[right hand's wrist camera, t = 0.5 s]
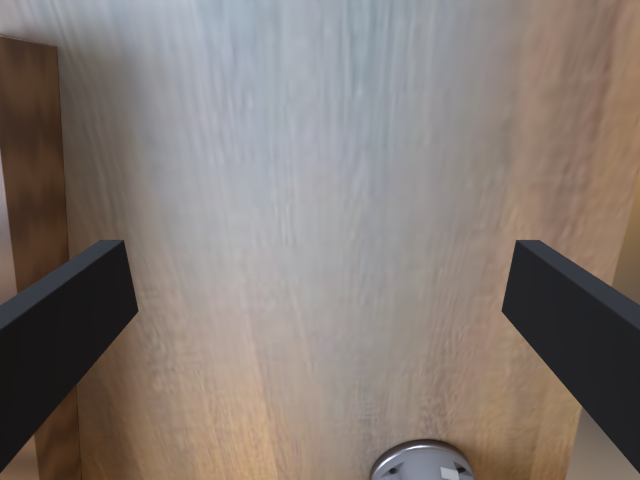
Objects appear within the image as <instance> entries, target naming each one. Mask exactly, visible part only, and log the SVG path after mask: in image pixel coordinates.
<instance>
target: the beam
mask: <svg viewBox="0 0 640 480" xmlns="http://www.w3.org/2000/svg"><path fill="white" fill-rule="evenodd" d="M68 261H69V254H68V236H67V219H66V201H65V184H64V167H63V149H62V132H61V114H60V97H59V79H58V62H57V47H56V46H51V45H46V44H41V43H37V42H32V41H27V40H22V39H18V38H13V37H8V36H4V35H0V305H2V304H3V303H5V302H6V301H8V300H9V299H11V298H12V297H14V296H15V295H17V294H19V293H20V292H22V291H23V290H25V289H26V288H28V287H29V286H31V285H32V284H34V283H35V282H37V281H39V280H40V279H42V278H43V277H45V276H46V275H48V274H49V273H51V272H52V271H54V270H56V269H57V268H59V267H60V266H62V265H63V264H65V263H66V262H68ZM0 480H81V463H80V445H79V428H78V411H77V393H76V385H75V386H74V388H73V389H72V390H71V391H70V392H69V393H68V395H67V396H66V397H65V398H64V399H63V401H62V402H61V403H60V404H59V405H58V406H57V408H56V409H55V410H54V411H53V412H52V413H51V415H50V416H49V417H48V418H47V419H46V421H45V422H44V423H43V424H42V425H41V426H40V428H39V429H38V430H37V431H36V432H35V433H34V435H33V436H32V437H31V438H30V439H29V440H28V442H27V443H26V444H25V445H24V446H23V448H22V449H21V450H20V451H19V452H18V453H17V455H16V456H15V457H14V458H13V459H12V460H11V462H10V463H9V464H8V465H7V466H6V468H5V469H4V470H3V471H2V472H1V473H0Z"/></svg>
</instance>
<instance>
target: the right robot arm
mask: <svg viewBox="0 0 640 480" xmlns="http://www.w3.org/2000/svg"><path fill="white" fill-rule="evenodd" d="M137 312H138V306H137V301H136V297H135V292H134V287H133V282H132V277H131V273H130V268H129V263H128V258H127V253H126V249H125V244H124V240H100V241H99V242H97V243H96V244H94V245H93V246H91V247H89V248H88V249H86V250H85V251H83V252H82V253H80V254H79V255H77V256H76V257H74V258H72V259H71V260H69V261H68V262H66V263H65V264H63V265H62V266H60V267H59V268H57V269H56V270H54V271H52V272H51V273H49V274H48V275H46V276H45V277H43V278H42V279H40V280H39V281H37V282H35V283H34V284H32V285H31V286H29V287H28V288H26V289H25V290H23V291H22V292H20V293H19V294H17V295H15V296H14V297H12V298H11V299H9V300H8V301H6V302H5V303H3V304H2V305H0V473H1V472H2V471H3V470H4V469H5V468H6V466H7V465H8V464H9V463H10V462H11V460H12V459H13V458H14V457H15V456H16V455H17V453H18V452H19V451H20V450H21V449H22V448H23V446H24V445H25V444H26V443H27V442H28V440H29V439H30V438H31V437H32V436H33V435H34V433H35V432H36V431H37V430H38V429H39V428H40V426H41V425H42V424H43V423H44V422H45V421H46V419H47V418H48V417H49V416H50V415H51V413H52V412H53V411H54V410H55V409H56V408H57V406H58V405H59V404H60V403H61V402H62V401H63V399H64V398H65V397H66V396H67V395H68V393H69V392H70V391H71V390H72V389H73V388H74V386H75V385H76V384H77V383H78V382H79V381H80V379H81V378H82V377H83V376H84V375H85V374H86V372H87V371H88V370H89V369H90V368H91V366H92V365H93V364H94V363H95V362H96V361H97V359H98V358H99V357H100V356H101V355H102V354H103V352H104V351H105V350H106V349H107V348H108V346H109V345H110V344H111V343H112V342H113V341H114V339H115V338H116V337H117V336H118V335H119V334H120V332H121V331H122V330H123V329H124V328H125V326H126V325H127V324H128V323H129V322H130V321H131V319H132V318H133V317H134V316H135V315H136V314H137ZM502 312H503V314H504V315H505V316H506V317H507V318H508V319H509V321H510V322H511V323H512V324H513V325H514V326H515V328H516V329H517V330H518V331H519V332H520V334H521V335H522V336H523V337H524V338H525V339H526V341H527V342H528V343H529V344H530V345H531V346H532V348H533V349H534V350H535V351H536V352H537V354H538V355H539V356H540V357H541V358H542V359H543V361H544V362H545V363H546V364H547V365H548V366H549V368H550V369H551V370H552V371H553V372H554V374H555V375H556V376H557V377H558V378H559V379H560V381H561V382H562V383H563V384H564V385H565V386H566V388H567V389H568V390H569V391H570V392H571V393H572V395H573V396H574V397H575V398H576V399H577V401H578V402H579V403H580V404H581V405H582V406H583V408H584V409H585V410H586V411H587V412H588V413H589V415H590V416H591V417H592V418H593V419H594V421H595V422H596V423H597V424H598V425H599V426H600V427H601V429H602V430H603V431H604V432H605V433H606V435H607V436H608V437H609V438H610V439H611V440H612V442H613V443H614V444H615V445H616V446H617V448H618V449H619V450H620V451H621V452H622V453H623V455H624V456H625V457H626V458H627V459H628V460H629V462H630V463H631V464H632V465H633V466H634V468H635V469H636V470H637V471H638V472H639V473H640V305H638V304H637V303H635V302H634V301H632V300H631V299H629V298H628V297H626V296H625V295H623V294H621V293H620V292H618V291H617V290H615V289H614V288H612V287H611V286H609V285H608V284H606V283H605V282H603V281H601V280H600V279H598V278H597V277H595V276H594V275H592V274H591V273H589V272H588V271H586V270H584V269H583V268H581V267H580V266H578V265H577V264H575V263H574V262H572V261H571V260H569V259H568V258H566V257H564V256H563V255H561V254H560V253H558V252H557V251H555V250H554V249H552V248H551V247H549V246H547V245H546V244H544V243H543V242H541V241H540V240H516V244H515V249H514V253H513V258H512V263H511V268H510V273H509V277H508V282H507V287H506V292H505V297H504V301H503V306H502ZM370 480H475V478H474V473H473V471H472V468H471V466H470V463H469V461H468V459H467V458H466V456H465V455H464V454H463V453H462V452H461V451H460V450H458V449H457V448H455V447H453V446H451V445H449V444H446V443H443V442H439V441H432V440H419V441H412V442H407V443H403V444H401V445H398V446H396V447H393V448H392V449H390V450H388V451H387V452H385V453H384V454H383V455H381V456H380V457H379V458H378V459H377V461H376V462H375V463H374V465H373V467H372V469H371V472H370Z"/></svg>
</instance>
